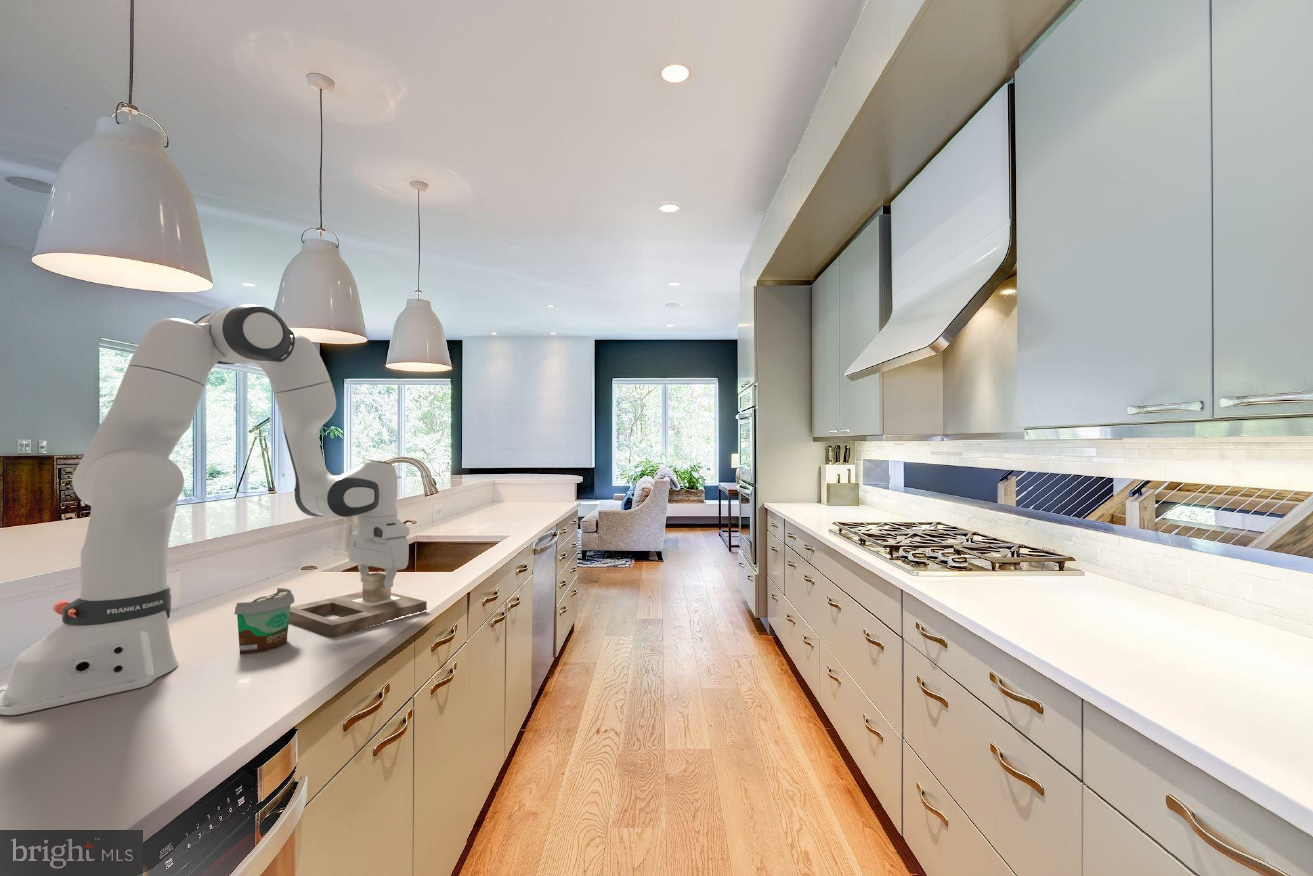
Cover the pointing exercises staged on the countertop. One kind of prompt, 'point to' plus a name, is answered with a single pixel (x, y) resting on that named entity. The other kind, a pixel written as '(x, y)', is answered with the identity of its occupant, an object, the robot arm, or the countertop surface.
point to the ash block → (375, 587)
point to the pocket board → (352, 613)
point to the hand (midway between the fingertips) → (376, 584)
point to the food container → (264, 622)
